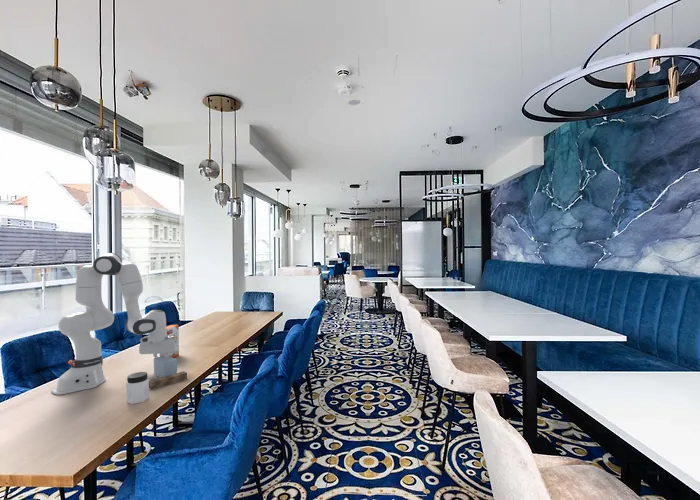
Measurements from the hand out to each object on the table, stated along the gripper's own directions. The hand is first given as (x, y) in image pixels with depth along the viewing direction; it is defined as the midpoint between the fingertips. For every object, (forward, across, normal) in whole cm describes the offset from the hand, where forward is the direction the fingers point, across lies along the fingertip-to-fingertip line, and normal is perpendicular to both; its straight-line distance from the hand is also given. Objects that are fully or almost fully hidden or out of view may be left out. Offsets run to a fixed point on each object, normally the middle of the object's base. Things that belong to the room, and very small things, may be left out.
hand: (158, 360), depth 203 cm
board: (+6, -14, +22) cm, 26 cm away
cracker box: (+6, +4, -25) cm, 26 cm away
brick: (+6, -6, +6) cm, 11 cm away
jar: (+6, -8, +41) cm, 42 cm away
